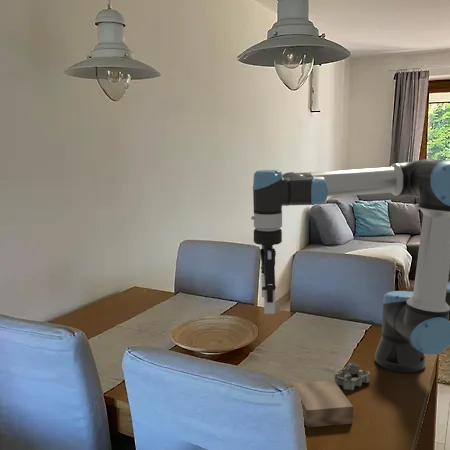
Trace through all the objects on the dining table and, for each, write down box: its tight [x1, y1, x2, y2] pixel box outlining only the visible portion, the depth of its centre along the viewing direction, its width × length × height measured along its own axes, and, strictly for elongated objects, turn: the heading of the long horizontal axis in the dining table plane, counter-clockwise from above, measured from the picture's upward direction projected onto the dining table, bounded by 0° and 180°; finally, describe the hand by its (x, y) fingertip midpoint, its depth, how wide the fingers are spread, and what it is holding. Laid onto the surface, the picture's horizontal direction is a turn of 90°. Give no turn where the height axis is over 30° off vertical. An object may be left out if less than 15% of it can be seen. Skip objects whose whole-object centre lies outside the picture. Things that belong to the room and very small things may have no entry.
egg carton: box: [331, 361, 371, 391], centre depth 149 cm, size 11×8×4 cm
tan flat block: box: [291, 379, 354, 428], centre depth 134 cm, size 12×14×5 cm
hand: (267, 304), depth 139 cm, fingers open, 13 cm apart
